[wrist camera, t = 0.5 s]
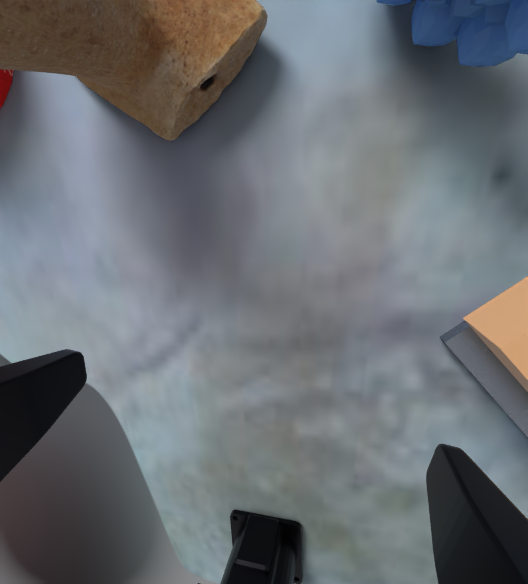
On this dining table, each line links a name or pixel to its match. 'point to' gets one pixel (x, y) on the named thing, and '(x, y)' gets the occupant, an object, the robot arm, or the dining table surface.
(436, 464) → the robot arm
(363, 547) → the dining table surface
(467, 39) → the grapes
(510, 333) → the orange wooden beam
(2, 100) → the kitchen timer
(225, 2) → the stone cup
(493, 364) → the label plate
